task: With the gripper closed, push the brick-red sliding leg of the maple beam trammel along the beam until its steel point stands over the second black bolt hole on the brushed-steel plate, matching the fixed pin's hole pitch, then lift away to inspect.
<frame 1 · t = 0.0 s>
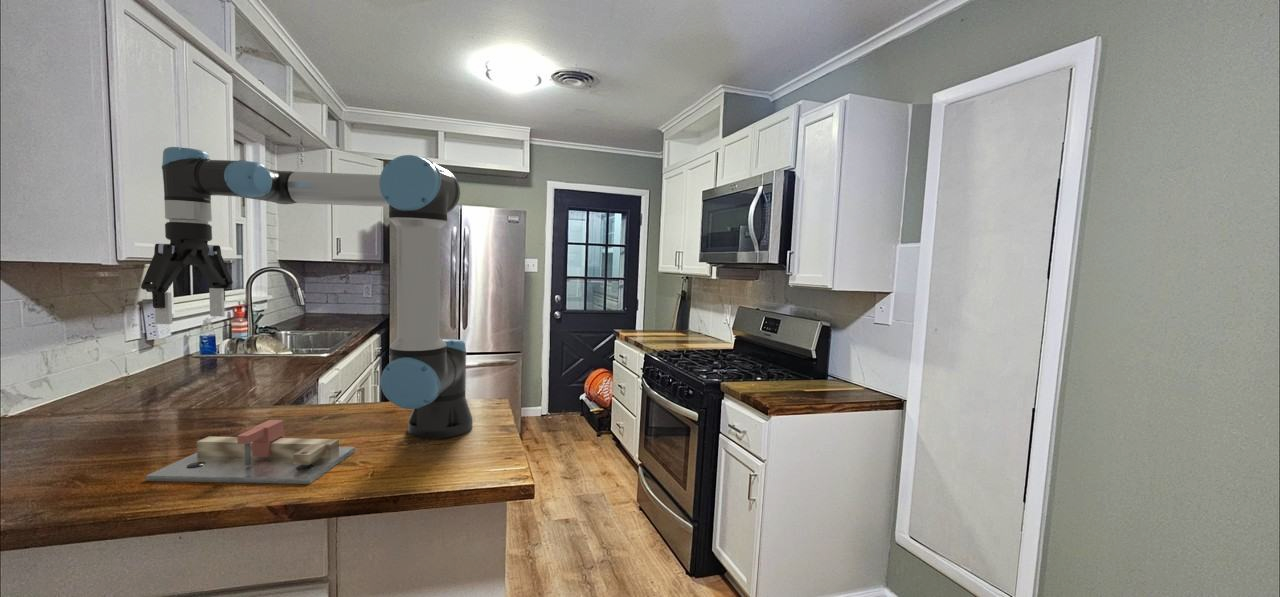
hand: (192, 320, 110), 28 cm above the counter, fingers open, 13 cm apart
sliding leg: (261, 442, 103), point 4 cm above the counter, slide at 0.0 cm
steel plate: (259, 464, 102), on the counter
beam with fixed leg: (259, 452, 103), on the steel plate, point 2 cm above the counter
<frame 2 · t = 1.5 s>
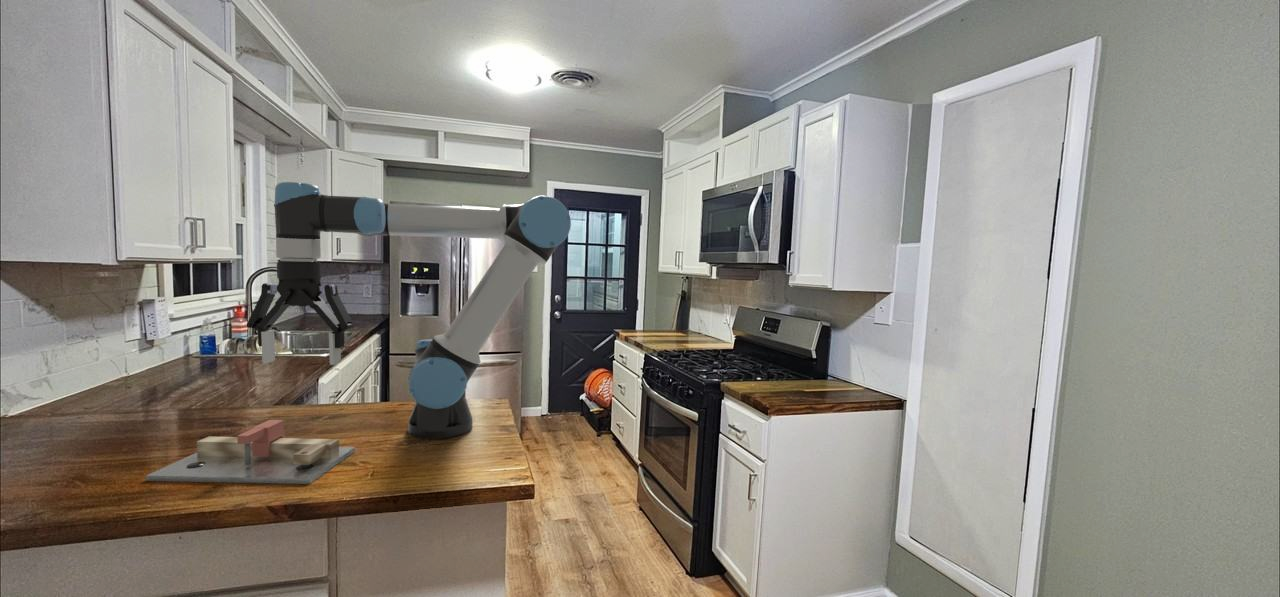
hand: (302, 362, 104), 21 cm above the counter, fingers open, 13 cm apart
nothing on the counter moved.
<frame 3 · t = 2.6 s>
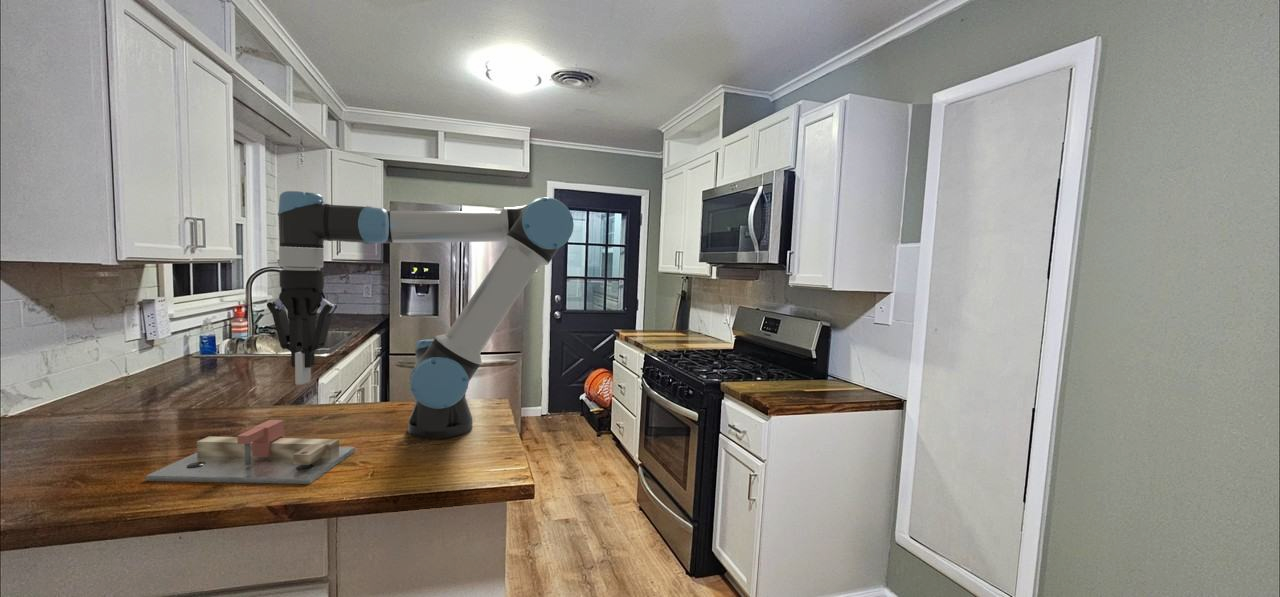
hand: (303, 382, 104), 17 cm above the counter, fingers closed
nothing on the counter moved.
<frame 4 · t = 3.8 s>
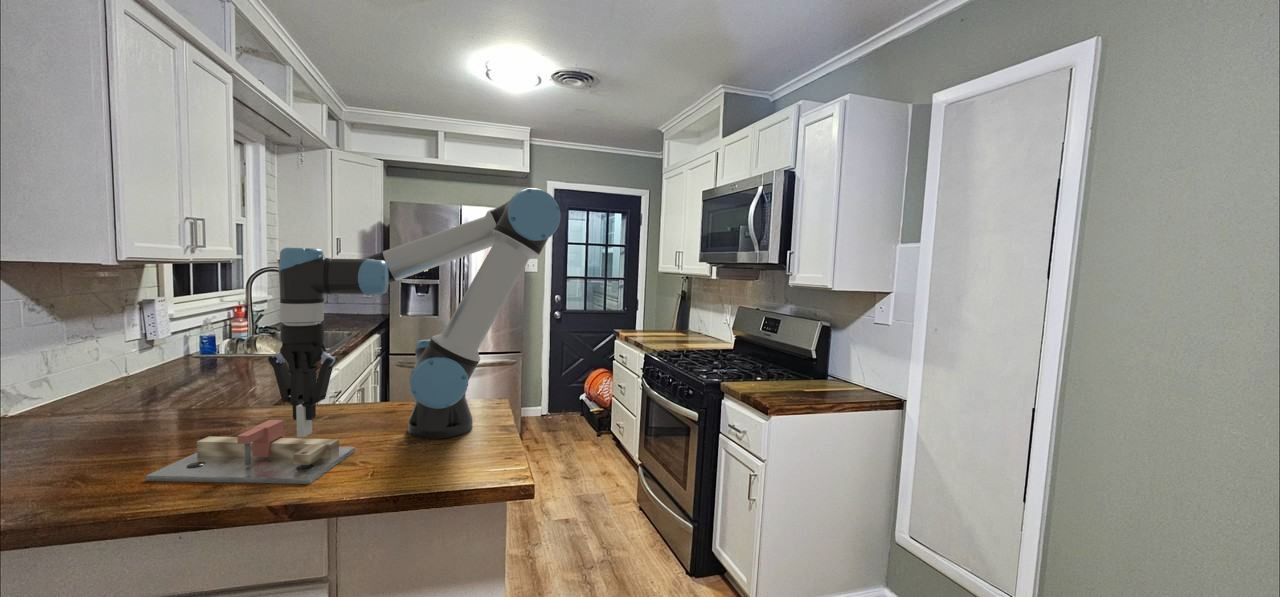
hand: (304, 434, 105), 5 cm above the counter, fingers closed
nothing on the counter moved.
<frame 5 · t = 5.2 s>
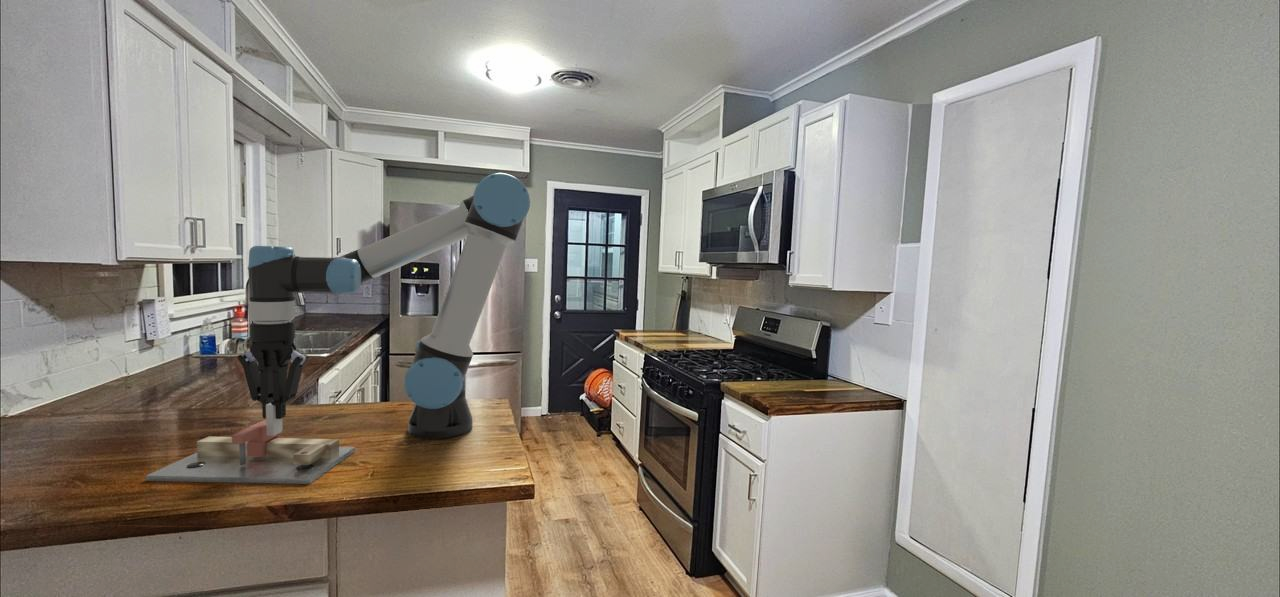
hand: (274, 433, 105), 6 cm above the counter, fingers closed
sliding leg: (256, 441, 103), point 4 cm above the counter, slide at 1.0 cm, touching gripper
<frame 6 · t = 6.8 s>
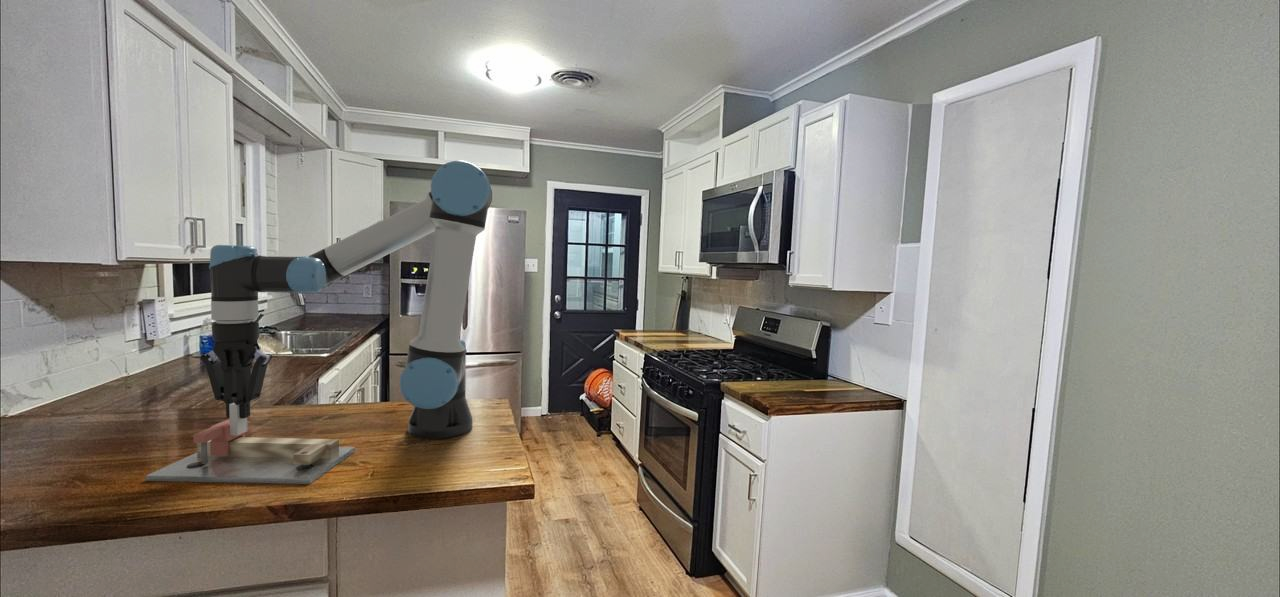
hand: (238, 432, 105), 5 cm above the counter, fingers closed
sliding leg: (219, 441, 103), point 4 cm above the counter, slide at 8.3 cm, touching gripper
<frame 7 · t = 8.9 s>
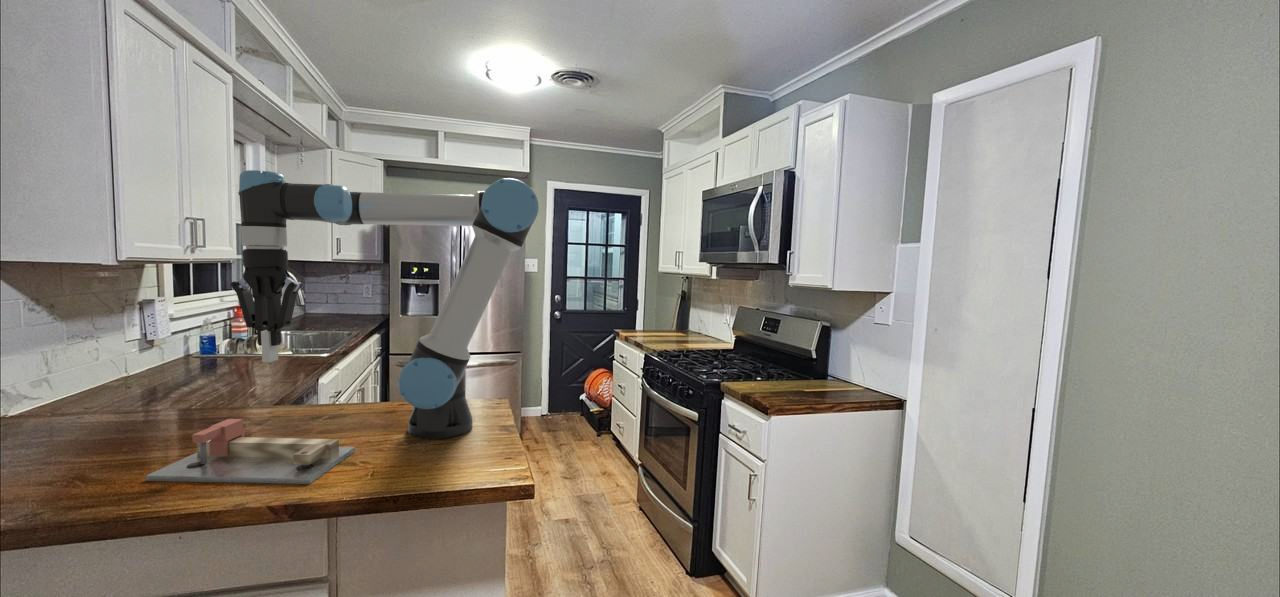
hand: (270, 360, 106), 21 cm above the counter, fingers closed
sliding leg: (218, 441, 103), point 4 cm above the counter, slide at 8.5 cm
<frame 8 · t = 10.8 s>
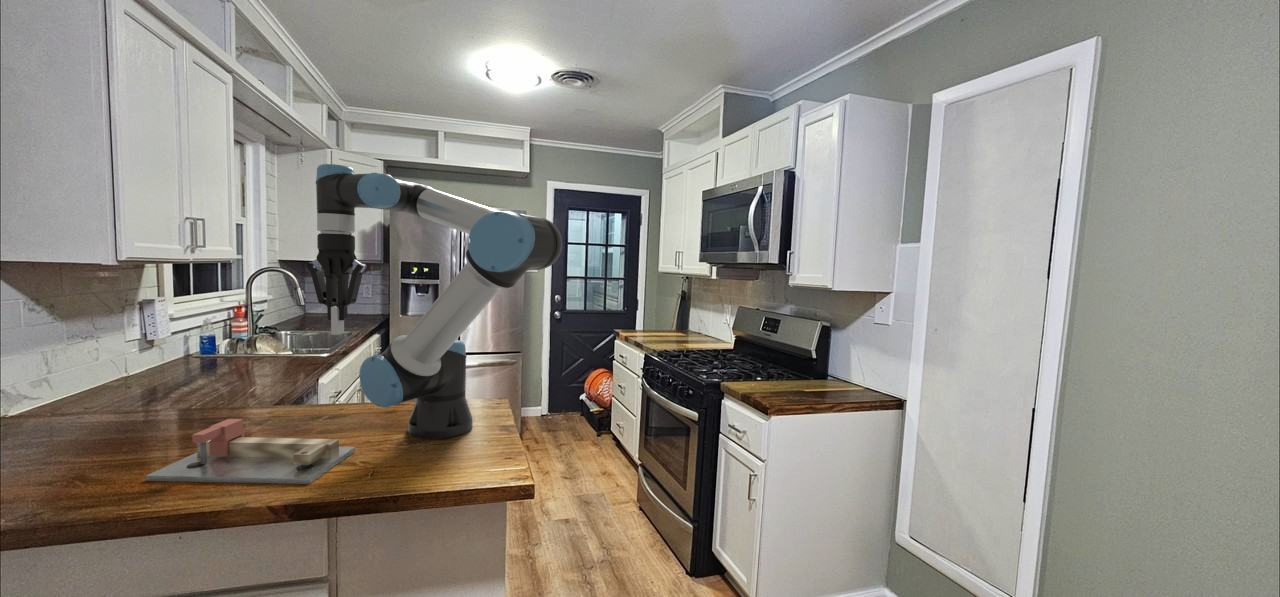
hand: (337, 333, 119), 24 cm above the counter, fingers closed
nothing on the counter moved.
at the end: sliding leg slide at 8.5 cm; the gripper is holding nothing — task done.
